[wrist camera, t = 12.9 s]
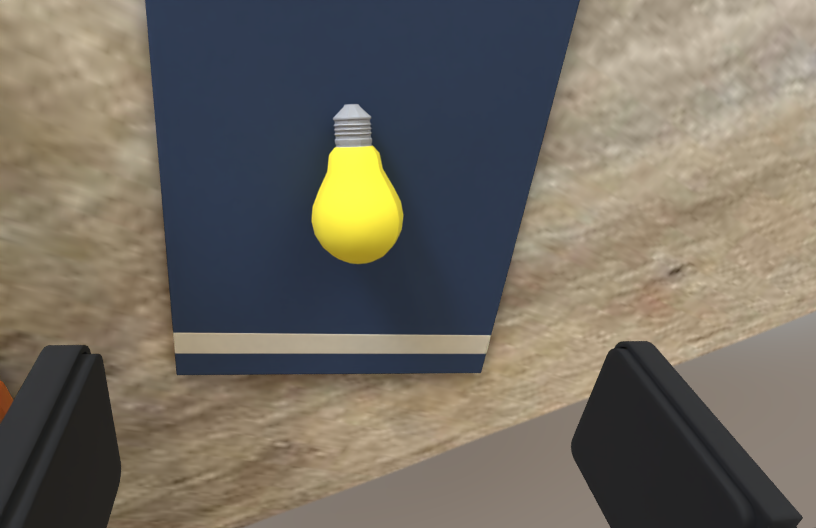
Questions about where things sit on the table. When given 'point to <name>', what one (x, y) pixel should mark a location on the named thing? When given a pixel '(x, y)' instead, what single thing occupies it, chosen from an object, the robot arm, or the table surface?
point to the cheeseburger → (4, 400)
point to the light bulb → (356, 195)
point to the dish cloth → (308, 163)
